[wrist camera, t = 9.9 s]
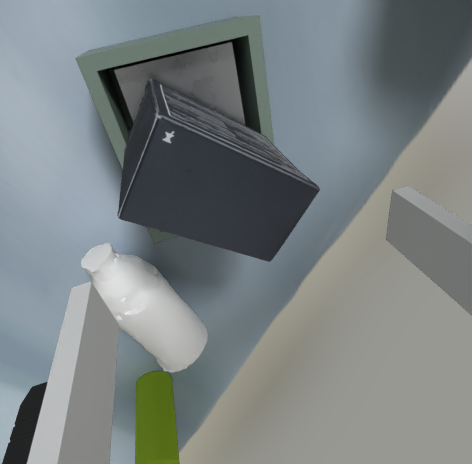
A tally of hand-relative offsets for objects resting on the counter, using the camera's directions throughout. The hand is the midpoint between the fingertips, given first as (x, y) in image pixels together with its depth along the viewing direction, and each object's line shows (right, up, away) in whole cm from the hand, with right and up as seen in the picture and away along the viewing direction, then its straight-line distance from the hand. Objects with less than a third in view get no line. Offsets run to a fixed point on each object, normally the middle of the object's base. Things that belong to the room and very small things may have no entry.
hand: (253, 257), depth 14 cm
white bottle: (-13, -7, +29) cm, 32 cm away
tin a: (-6, +14, +16) cm, 22 cm away
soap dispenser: (-14, -24, +40) cm, 49 cm away
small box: (-4, +8, +13) cm, 16 cm away
